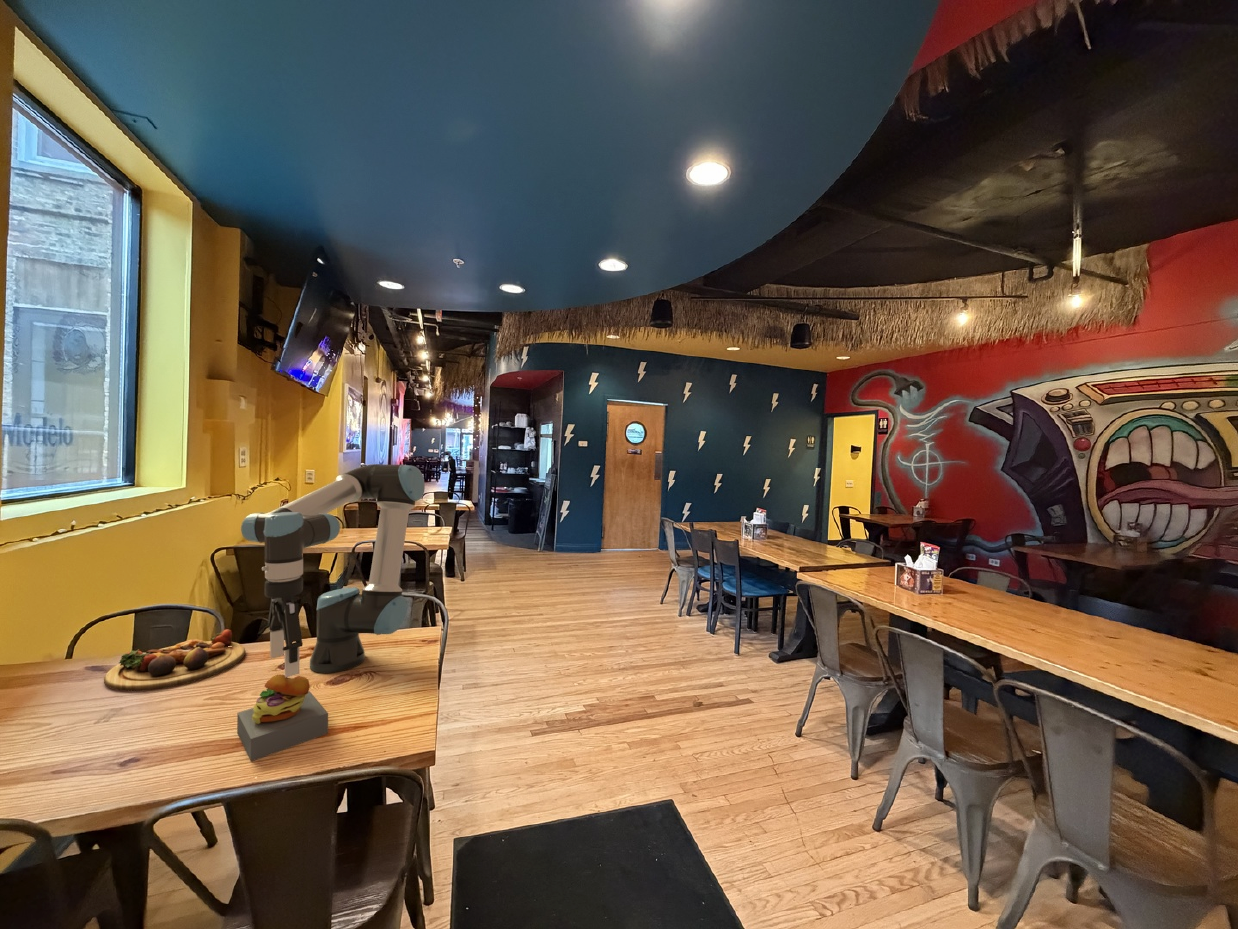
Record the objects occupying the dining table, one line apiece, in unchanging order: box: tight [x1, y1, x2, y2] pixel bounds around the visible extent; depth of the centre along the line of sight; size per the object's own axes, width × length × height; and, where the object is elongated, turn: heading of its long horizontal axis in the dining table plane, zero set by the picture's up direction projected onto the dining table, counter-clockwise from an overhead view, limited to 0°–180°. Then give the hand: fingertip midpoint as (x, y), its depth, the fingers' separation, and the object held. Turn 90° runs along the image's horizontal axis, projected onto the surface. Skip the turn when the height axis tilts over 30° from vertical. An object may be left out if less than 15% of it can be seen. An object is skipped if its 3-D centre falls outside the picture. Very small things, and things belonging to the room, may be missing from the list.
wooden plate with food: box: [103, 629, 246, 692], centre depth 149 cm, size 32×32×8 cm
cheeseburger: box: [252, 674, 311, 724], centre depth 116 cm, size 10×11×10 cm
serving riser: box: [236, 690, 329, 762], centre depth 116 cm, size 15×15×5 cm
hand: (284, 665), depth 116 cm, fingers open, 13 cm apart
